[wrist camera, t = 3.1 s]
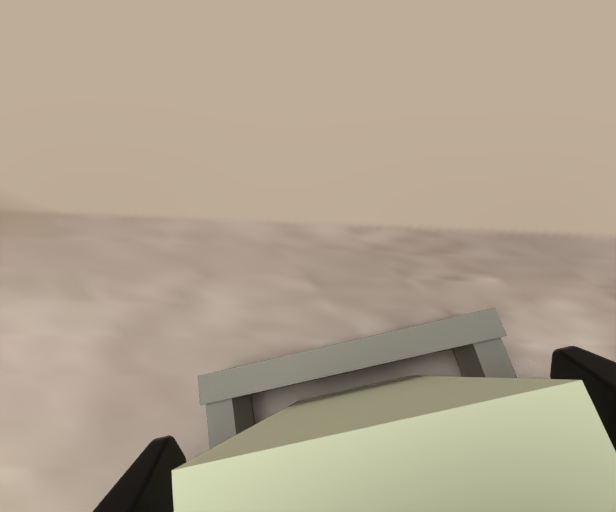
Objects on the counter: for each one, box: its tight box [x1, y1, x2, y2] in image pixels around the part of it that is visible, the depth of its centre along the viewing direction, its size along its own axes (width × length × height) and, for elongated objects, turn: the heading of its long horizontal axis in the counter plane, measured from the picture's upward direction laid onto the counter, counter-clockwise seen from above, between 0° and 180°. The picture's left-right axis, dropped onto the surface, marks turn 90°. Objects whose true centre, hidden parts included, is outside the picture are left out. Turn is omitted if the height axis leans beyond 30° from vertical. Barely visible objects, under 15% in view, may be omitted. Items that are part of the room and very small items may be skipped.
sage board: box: [172, 376, 616, 512], centre depth 9 cm, size 3×5×11 cm, turn 102°
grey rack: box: [198, 308, 517, 449], centre depth 12 cm, size 10×11×3 cm
